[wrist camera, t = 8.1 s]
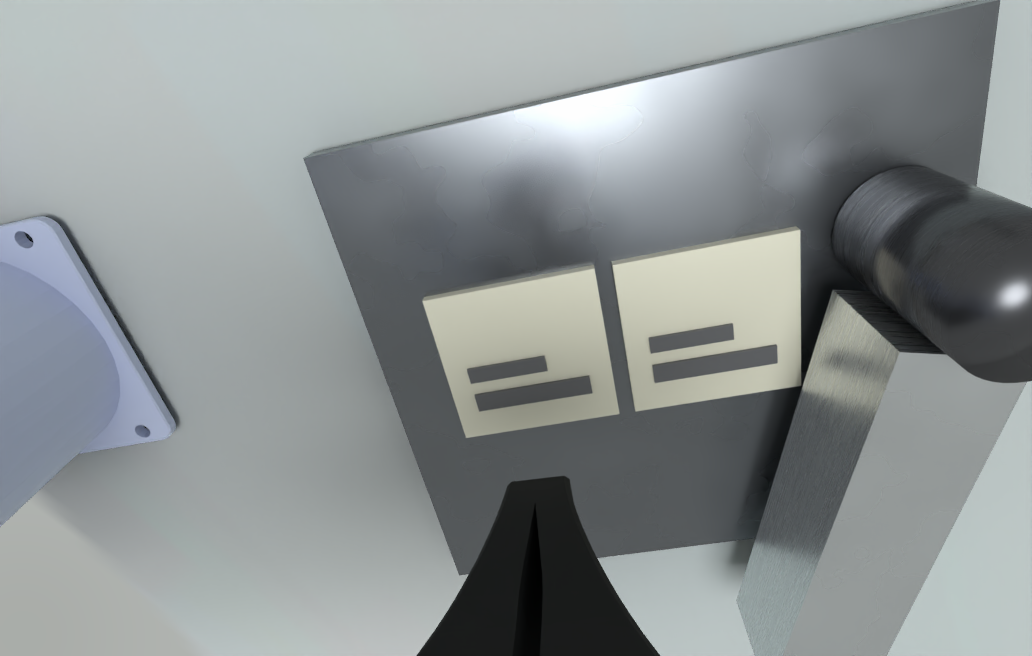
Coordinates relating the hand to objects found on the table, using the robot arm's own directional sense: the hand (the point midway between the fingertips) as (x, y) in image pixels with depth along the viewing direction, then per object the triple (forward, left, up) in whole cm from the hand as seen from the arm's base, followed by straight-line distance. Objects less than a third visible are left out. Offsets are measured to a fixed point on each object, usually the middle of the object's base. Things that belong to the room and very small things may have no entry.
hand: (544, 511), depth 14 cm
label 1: (0, +1, -7) cm, 7 cm away
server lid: (+4, 0, -7) cm, 7 cm away
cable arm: (+9, -3, -6) cm, 11 cm away
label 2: (+5, +1, -6) cm, 8 cm away
